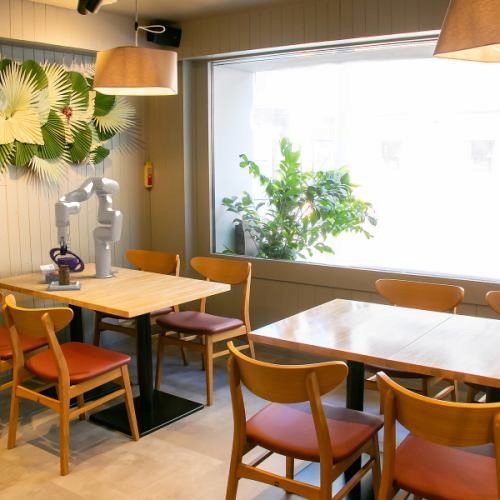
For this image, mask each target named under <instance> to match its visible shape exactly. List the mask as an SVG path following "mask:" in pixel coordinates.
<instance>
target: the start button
mask: <svg viewBox="0 0 500 500" xmlns="http://www.w3.org/2000/svg"><path fill="white" fill-rule="evenodd" d="M58 271H59V270H50V272H49V273H50V275H59V274H58Z"/></svg>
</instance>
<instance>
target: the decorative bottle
mask: <svg viewBox="0 0 500 500" xmlns="http://www.w3.org/2000/svg"><path fill="white" fill-rule="evenodd" d="M69 235H70V234H69V233H68V241H67V253H66V255H72V257H71V256H70V257H68V256H65V257H64V256H63V257H59V258H57V257H58V256H60V247H53V248H51V249H50V250H49V252H48V253H49V257H50V259H51V260H52V261H53V262H54V264H56V266H57V267H58V268H59V266H60V265H68V266H69V267H68V268H69V273H82V272H83V271H84V270H85V263H84V262H83V259H81V258H80V257H79V256H78V255H77V254H76V253H74V252H73V251H70V250H68V249H70V248H71V242H70V240H71V238H69ZM55 252H58V253H56V254H55ZM79 265H80V266H79ZM78 266H79V268H77V267H78Z"/></svg>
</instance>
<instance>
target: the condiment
mask: <svg viewBox="0 0 500 500" xmlns="http://www.w3.org/2000/svg"><path fill="white" fill-rule="evenodd" d="M68 267H69V266H68V265H60V266H59V267H58V270H57V271H58V274H59V285H57V286H68V285H70V281H71V277H70V275H71V274H70V273H71V272H69V268H68Z"/></svg>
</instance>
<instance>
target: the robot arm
mask: <svg viewBox="0 0 500 500" xmlns="http://www.w3.org/2000/svg"><path fill="white" fill-rule="evenodd" d="M120 188H121V187H120V184H119V183H118V181H116V180H114V179H111V178H107V177H105V176H90V177H88V178H87V179H86V180H85V181H83V182H82V184H80V185H79V187H78V188H77V189H73V190H72V191H70V192H68V193H65V194H64V195H62V196H61V197H60V198H59V200H58V201H57V202H55V203H54V216H55V218H54V220H55V228H57V245H58V246H59V248H60V251H59V253H60V255H59V256H61V257H64V256H65V257H66V256H67V254H66V253H68V252H67V250H68V248H67V246H68V244H67V242H69V241H68V234H69V233H68V228H69V227H70V215H77V214H79V213H80V212H81V210H82V206H81V204H80V203H82V202H86V201H87V200H89V199H90V198H91V197H92V196H93V195H94V194H95V195H96V196H97V199H98V208H97V224H100V225H108V226H96V227H95V228H94V229H93V230H92V238H93V242H94V243H93V244H94V262H95V264H94V265H95V267H94V268H95V273H94V274H93V276H92V277H93V278H97V279H107V278H112V277H114V274H119V270H118V269H117V270H116V269H115V270H114V269H112V259H111V257H112V254H111V253H112V252H111V245H110V244H109V243H118V242H119V241H120V239H121V237H122V229H123V227H122V226H123V220H124V219H123V218H124V217H123V214H122V211H120V210H119V209H113V206H114V202H113V199H112V197H111V195H112V196H113V195H114V196H115V195H117V194H119V192H120Z"/></svg>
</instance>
